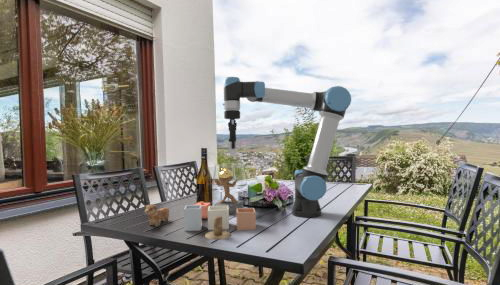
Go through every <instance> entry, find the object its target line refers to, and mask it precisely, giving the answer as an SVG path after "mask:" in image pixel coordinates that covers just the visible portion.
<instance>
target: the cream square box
mask: <svg viewBox="0 0 500 285" xmlns="http://www.w3.org/2000/svg"><path fill="white" fill-rule="evenodd" d="M216 216H221V217H222V231H225V230H229V229H230V222H229V221H230V215H229V206H228V205H224V206H215V205H211V206H209V207H208V218H207V230H208V231H214V217H216Z"/></svg>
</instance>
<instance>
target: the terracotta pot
mask: <svg viewBox="0 0 500 285" xmlns="http://www.w3.org/2000/svg"><path fill="white" fill-rule="evenodd" d="M256 216H257V213H256V210H255V208H254V207H243V208H237V209H236V215H235V218H236V230H237V231H245V230H257V217H256Z"/></svg>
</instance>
